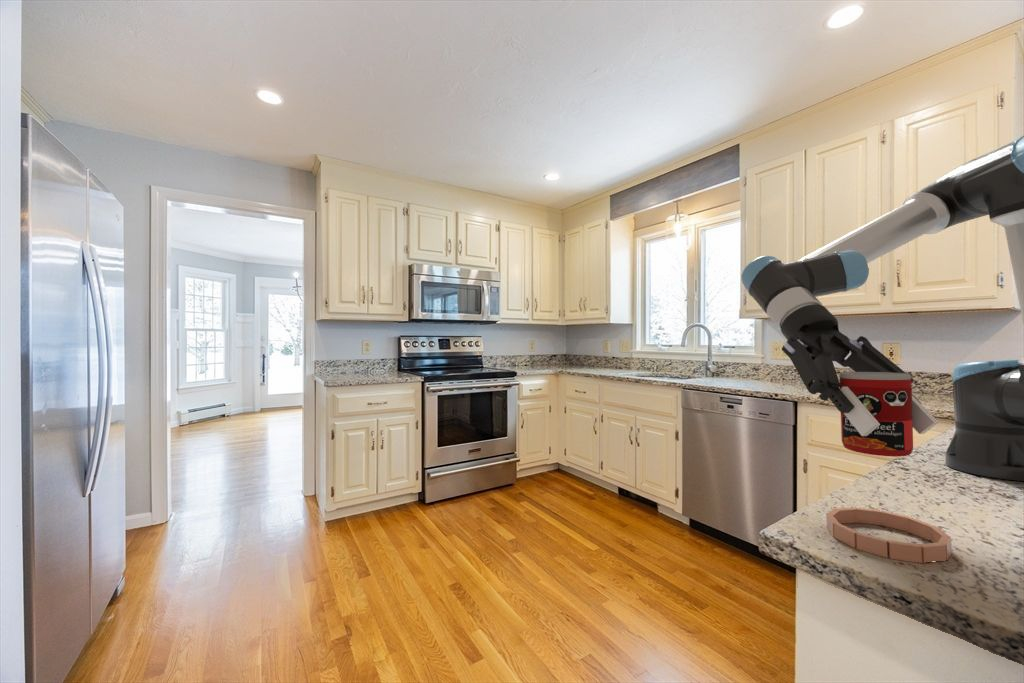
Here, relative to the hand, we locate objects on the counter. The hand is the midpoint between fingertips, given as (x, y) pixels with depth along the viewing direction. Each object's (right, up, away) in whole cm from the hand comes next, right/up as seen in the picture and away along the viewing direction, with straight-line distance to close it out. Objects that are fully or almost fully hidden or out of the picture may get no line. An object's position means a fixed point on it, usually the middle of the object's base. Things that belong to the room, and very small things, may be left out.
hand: (900, 429), depth 55 cm
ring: (0, -16, +2) cm, 16 cm away
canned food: (0, -4, +3) cm, 5 cm away
